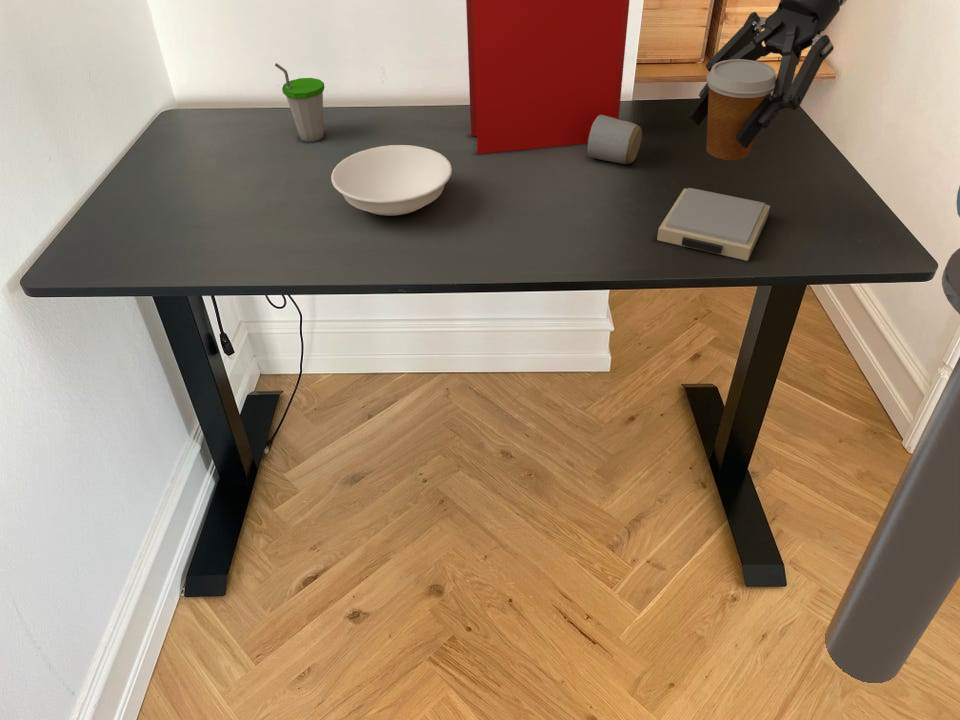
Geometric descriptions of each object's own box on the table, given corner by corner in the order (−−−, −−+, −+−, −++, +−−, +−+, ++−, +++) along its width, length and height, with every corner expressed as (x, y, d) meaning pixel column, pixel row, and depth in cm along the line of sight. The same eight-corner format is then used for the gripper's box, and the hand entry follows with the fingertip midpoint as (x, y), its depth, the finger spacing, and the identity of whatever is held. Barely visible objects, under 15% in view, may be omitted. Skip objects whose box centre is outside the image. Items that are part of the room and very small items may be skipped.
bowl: (438, 170, 141) (436, 137, 137) (467, 224, 127) (465, 189, 123) (329, 187, 138) (323, 154, 134) (345, 245, 123) (339, 209, 119)
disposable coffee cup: (683, 153, 116) (695, 73, 108) (714, 131, 121) (728, 53, 114) (742, 172, 111) (760, 89, 103) (772, 148, 117) (790, 67, 109)
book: (477, 153, 146) (471, -32, 125) (471, 135, 152) (464, -44, 131) (618, 140, 149) (635, -44, 128) (606, 122, 155) (621, -56, 134)
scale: (767, 217, 126) (771, 201, 124) (746, 263, 116) (750, 246, 114) (682, 199, 131) (684, 184, 129) (655, 242, 121) (657, 225, 119)
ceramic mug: (628, 172, 139) (633, 131, 134) (585, 164, 142) (588, 123, 137) (646, 148, 146) (651, 108, 141) (604, 141, 149) (607, 102, 144)
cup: (338, 130, 156) (326, 54, 146) (322, 147, 150) (308, 69, 140) (302, 127, 158) (288, 51, 148) (285, 143, 152) (269, 66, 142)
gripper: (892, 28, 104) (783, 171, 108) (768, -8, 118) (675, 119, 122) (879, -7, 99) (764, 145, 103) (750, -41, 113) (653, 94, 117)
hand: (716, 131), depth 113 cm, fingers closed on disposable coffee cup, 9 cm apart
